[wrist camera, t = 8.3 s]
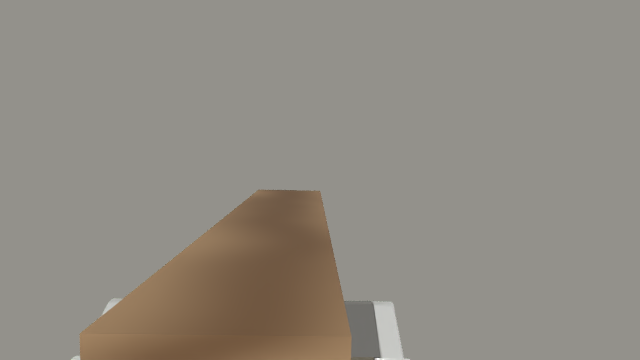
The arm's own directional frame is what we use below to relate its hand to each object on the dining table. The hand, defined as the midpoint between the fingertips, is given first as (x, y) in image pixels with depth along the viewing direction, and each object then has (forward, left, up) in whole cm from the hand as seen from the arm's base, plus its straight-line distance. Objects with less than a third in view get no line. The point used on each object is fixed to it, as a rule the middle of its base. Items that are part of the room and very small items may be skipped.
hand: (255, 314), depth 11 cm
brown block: (0, +6, -2) cm, 7 cm away
